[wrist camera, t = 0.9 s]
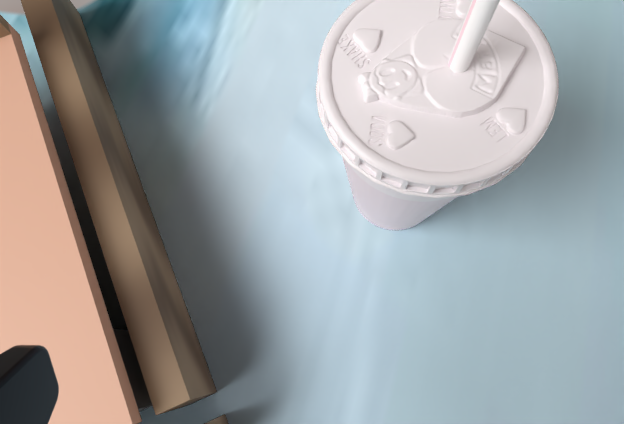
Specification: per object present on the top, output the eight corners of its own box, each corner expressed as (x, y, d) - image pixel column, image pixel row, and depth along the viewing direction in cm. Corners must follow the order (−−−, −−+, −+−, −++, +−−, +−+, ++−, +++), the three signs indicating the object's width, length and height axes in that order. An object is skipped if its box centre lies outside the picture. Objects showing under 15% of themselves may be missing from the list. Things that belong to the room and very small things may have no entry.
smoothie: (486, 241, 22) (738, 48, 8) (342, 277, 21) (358, 139, 8) (441, 111, 23) (585, -223, 10) (307, 142, 23) (272, -153, 10)
